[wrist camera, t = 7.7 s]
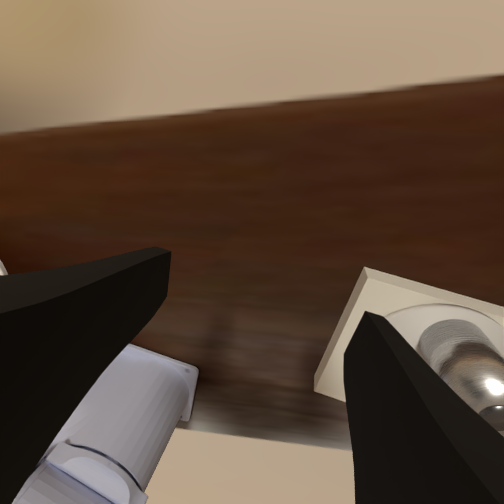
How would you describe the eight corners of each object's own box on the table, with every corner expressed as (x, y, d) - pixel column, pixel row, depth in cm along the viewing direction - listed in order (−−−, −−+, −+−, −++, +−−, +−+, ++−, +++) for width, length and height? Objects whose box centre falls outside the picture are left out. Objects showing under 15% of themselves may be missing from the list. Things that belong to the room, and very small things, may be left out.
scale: (314, 375, 24) (313, 399, 21) (364, 265, 19) (370, 282, 17) (463, 425, 22) (479, 457, 20) (558, 321, 18) (592, 348, 15)
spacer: (408, 353, 18) (438, 428, 13) (437, 311, 16) (481, 379, 12) (464, 372, 18) (514, 455, 13) (499, 330, 16) (570, 408, 12)
